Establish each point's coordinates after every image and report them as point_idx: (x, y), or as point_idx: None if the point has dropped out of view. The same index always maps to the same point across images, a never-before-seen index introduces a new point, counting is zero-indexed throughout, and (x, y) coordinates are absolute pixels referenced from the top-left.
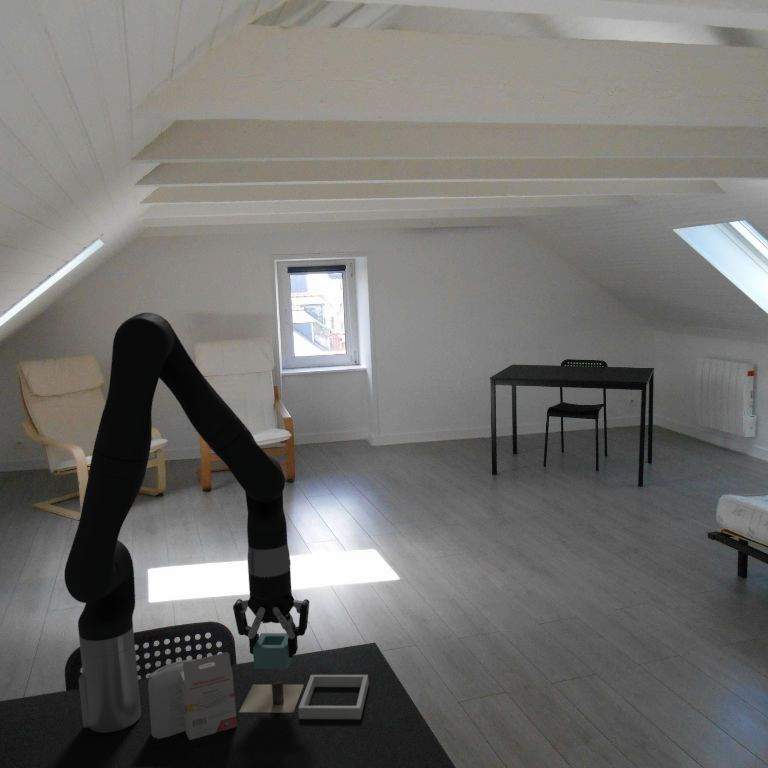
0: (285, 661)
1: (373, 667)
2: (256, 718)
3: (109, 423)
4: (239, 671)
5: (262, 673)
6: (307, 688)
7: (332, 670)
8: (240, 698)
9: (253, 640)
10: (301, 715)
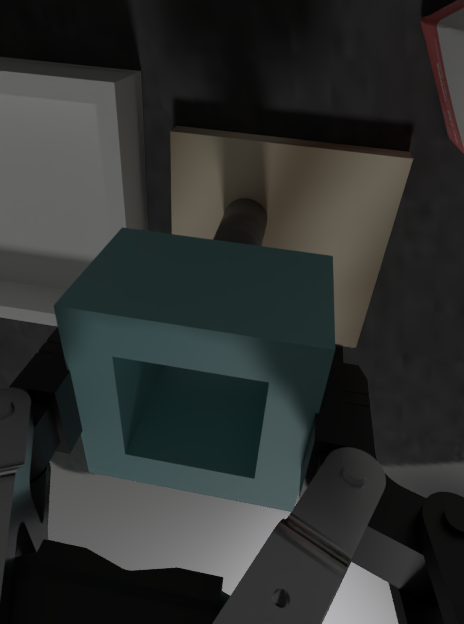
0: (109, 252)
1: (9, 384)
2: (332, 136)
3: None
4: (404, 434)
5: None
6: None
7: None
8: (402, 289)
9: (336, 434)
10: (117, 76)
